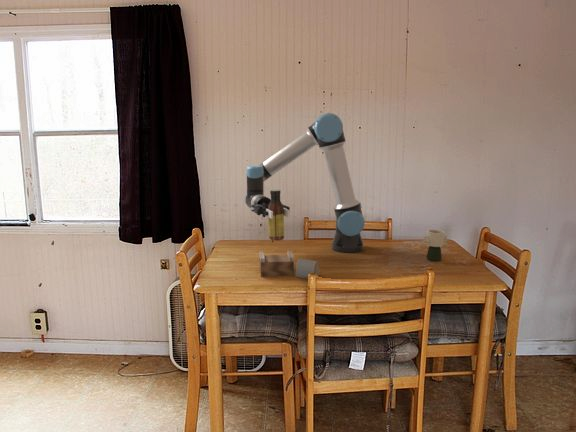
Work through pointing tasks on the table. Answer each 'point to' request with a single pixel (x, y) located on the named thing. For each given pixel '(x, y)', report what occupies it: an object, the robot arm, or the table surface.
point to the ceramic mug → (306, 268)
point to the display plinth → (276, 265)
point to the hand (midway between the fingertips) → (280, 214)
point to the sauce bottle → (276, 217)
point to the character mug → (435, 243)
